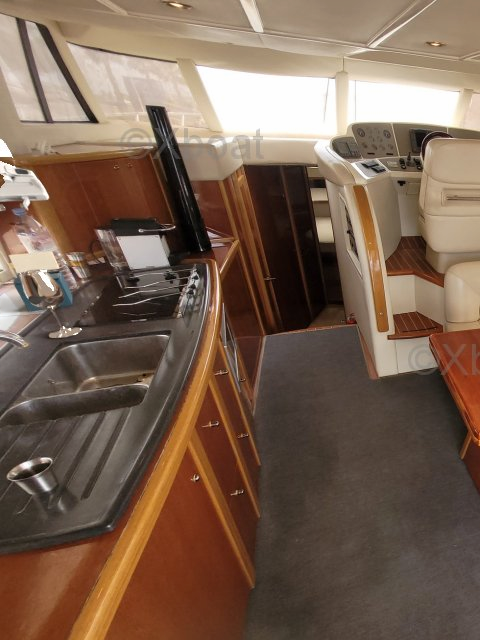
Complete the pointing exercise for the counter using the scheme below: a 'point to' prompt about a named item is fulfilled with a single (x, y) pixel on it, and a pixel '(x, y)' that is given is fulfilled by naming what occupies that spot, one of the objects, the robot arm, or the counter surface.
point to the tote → (59, 280)
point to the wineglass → (46, 297)
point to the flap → (34, 261)
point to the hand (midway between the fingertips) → (13, 209)
